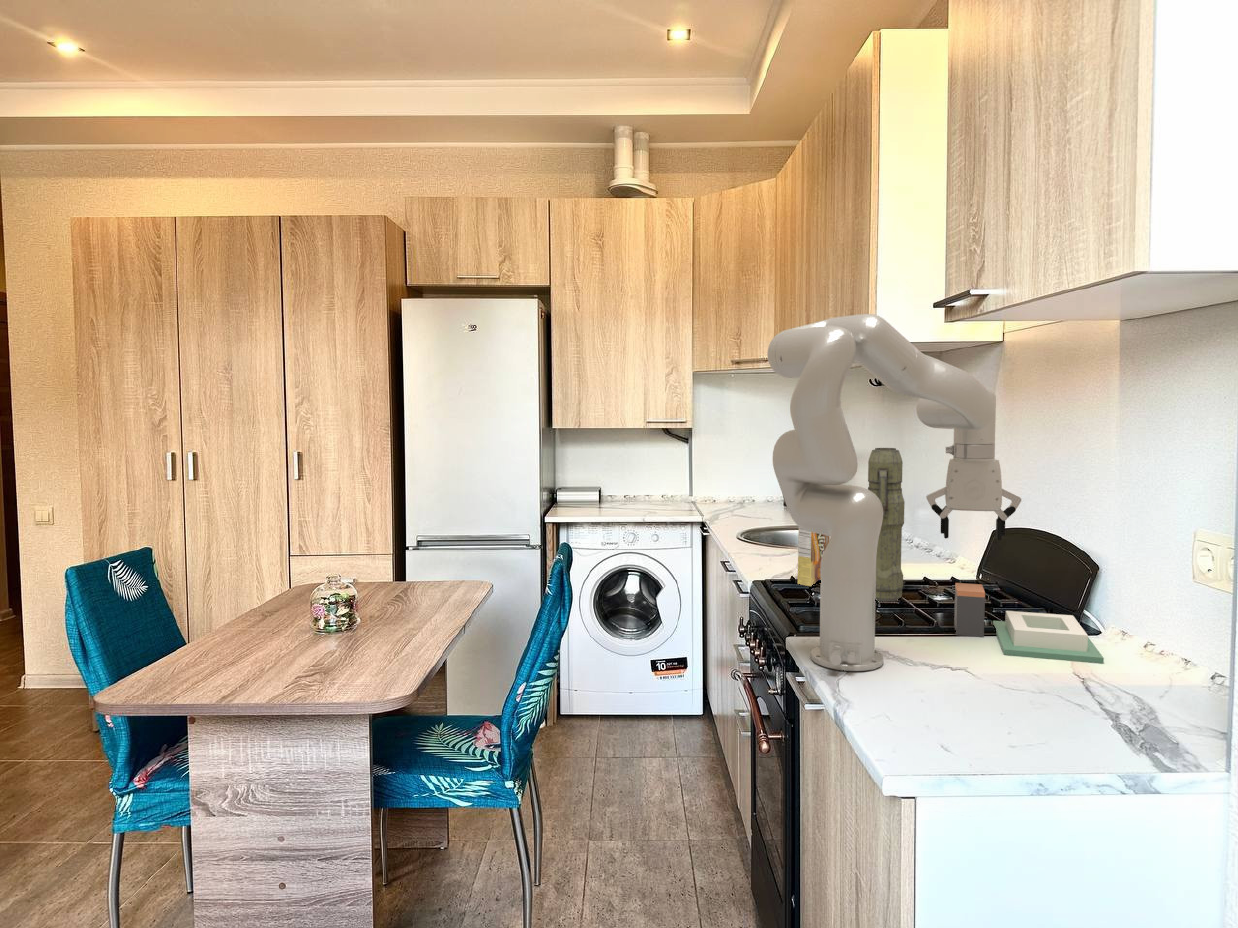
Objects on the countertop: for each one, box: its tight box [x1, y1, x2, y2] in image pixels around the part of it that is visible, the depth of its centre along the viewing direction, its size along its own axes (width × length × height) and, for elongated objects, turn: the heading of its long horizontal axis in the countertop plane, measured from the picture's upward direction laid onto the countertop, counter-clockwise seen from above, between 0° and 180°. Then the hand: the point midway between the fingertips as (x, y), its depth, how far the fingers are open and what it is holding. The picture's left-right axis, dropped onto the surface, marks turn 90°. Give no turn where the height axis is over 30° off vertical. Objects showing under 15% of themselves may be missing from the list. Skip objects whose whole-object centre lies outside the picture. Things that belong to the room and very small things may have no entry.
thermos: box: [867, 447, 905, 602], centre depth 191 cm, size 9×12×35 cm
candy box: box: [797, 526, 830, 587], centre depth 207 cm, size 9×4×15 cm, turn 137°
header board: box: [992, 610, 1105, 664], centre depth 156 cm, size 20×16×4 cm
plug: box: [953, 582, 986, 638], centre depth 164 cm, size 7×5×9 cm
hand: (972, 538), depth 163 cm, fingers open, 9 cm apart
